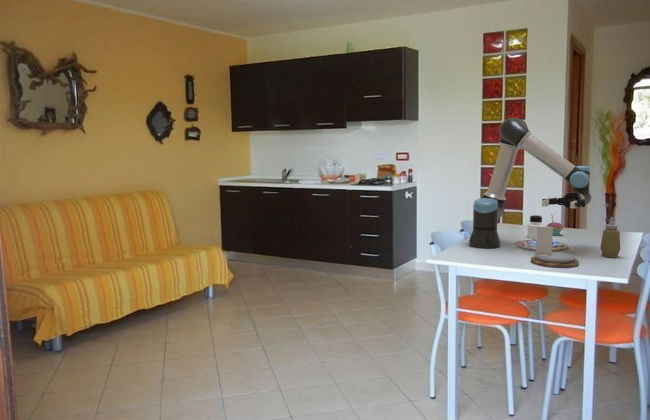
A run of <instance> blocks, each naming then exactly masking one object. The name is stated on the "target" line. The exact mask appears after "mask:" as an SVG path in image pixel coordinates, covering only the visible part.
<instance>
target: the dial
mask: <svg viewBox="0 0 650 420" xmlns="http://www.w3.org/2000/svg"><path fill="white" fill-rule="evenodd" d="M543 226H544V225H543ZM543 226H537V239H536V252H535V254H534V256H535V259H537V260H540V261H544V262H552V263H570V262H574V261H575V259H576V256H575V255H573V254H570V253H566V252H559V251H558V252H557V251H553V227H547V226H544V227H543Z"/></svg>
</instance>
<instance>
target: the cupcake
mask: <svg viewBox="0 0 650 420" xmlns="http://www.w3.org/2000/svg"><path fill="white" fill-rule="evenodd" d="M550 215H551V221H552V222H550V223H547V224H546V227H553V236H556V237H557V236H560V233H561V232H562V231H563V229H564V224H562V223H560V222H555V221H554V217H553V216H554V214H550ZM553 236H552V237H553Z"/></svg>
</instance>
